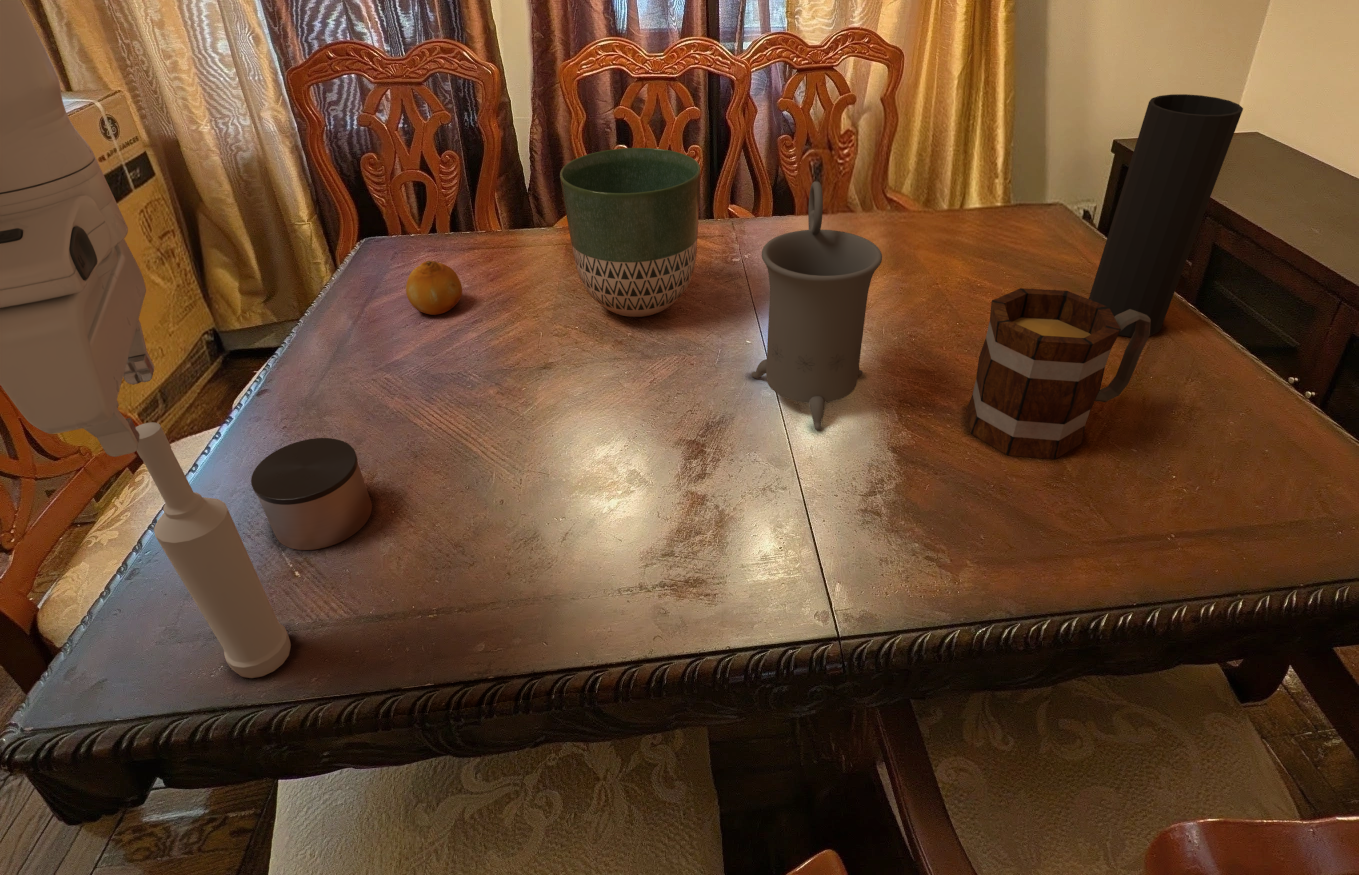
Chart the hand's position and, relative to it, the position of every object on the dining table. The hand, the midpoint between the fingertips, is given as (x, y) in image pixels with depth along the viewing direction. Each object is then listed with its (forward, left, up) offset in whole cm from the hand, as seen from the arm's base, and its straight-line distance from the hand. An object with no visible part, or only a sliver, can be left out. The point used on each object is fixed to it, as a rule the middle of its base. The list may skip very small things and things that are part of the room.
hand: (134, 411), depth 56 cm
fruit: (+53, +41, -27) cm, 72 cm away
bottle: (0, 0, -27) cm, 27 cm away
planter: (+71, +15, -27) cm, 77 cm away
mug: (+76, -45, -27) cm, 92 cm away
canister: (+14, +12, -27) cm, 32 cm away
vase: (+108, -46, -27) cm, 120 cm away
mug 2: (+66, -18, -27) cm, 73 cm away
